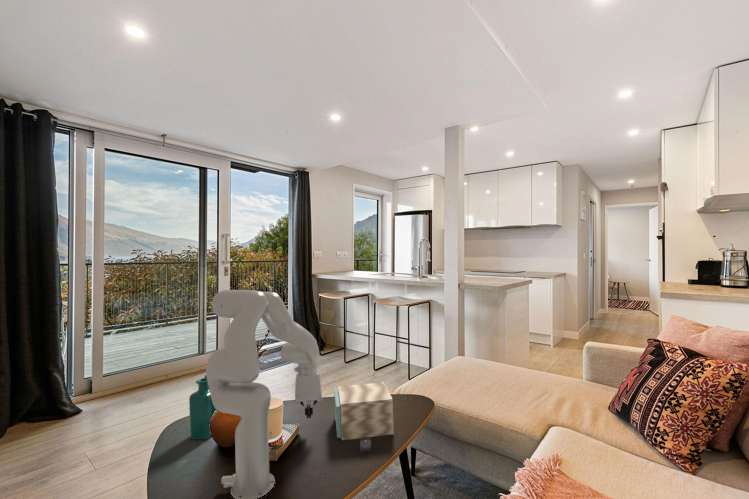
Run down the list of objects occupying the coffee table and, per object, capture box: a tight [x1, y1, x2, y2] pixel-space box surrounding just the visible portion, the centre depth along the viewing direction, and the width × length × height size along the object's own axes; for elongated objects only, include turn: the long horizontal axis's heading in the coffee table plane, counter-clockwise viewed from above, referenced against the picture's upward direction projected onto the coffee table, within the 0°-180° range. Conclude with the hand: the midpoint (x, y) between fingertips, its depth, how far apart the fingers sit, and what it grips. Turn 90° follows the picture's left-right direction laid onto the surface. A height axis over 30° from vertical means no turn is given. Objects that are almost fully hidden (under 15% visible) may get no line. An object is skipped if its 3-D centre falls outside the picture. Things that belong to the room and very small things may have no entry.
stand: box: [359, 437, 372, 454], centre depth 123 cm, size 4×4×4 cm
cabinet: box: [337, 381, 395, 441], centre depth 141 cm, size 20×18×14 cm
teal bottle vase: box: [188, 374, 216, 440], centre depth 139 cm, size 10×8×22 cm
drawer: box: [333, 387, 341, 439], centre depth 140 cm, size 20×18×12 cm
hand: (309, 416), depth 137 cm, fingers closed
